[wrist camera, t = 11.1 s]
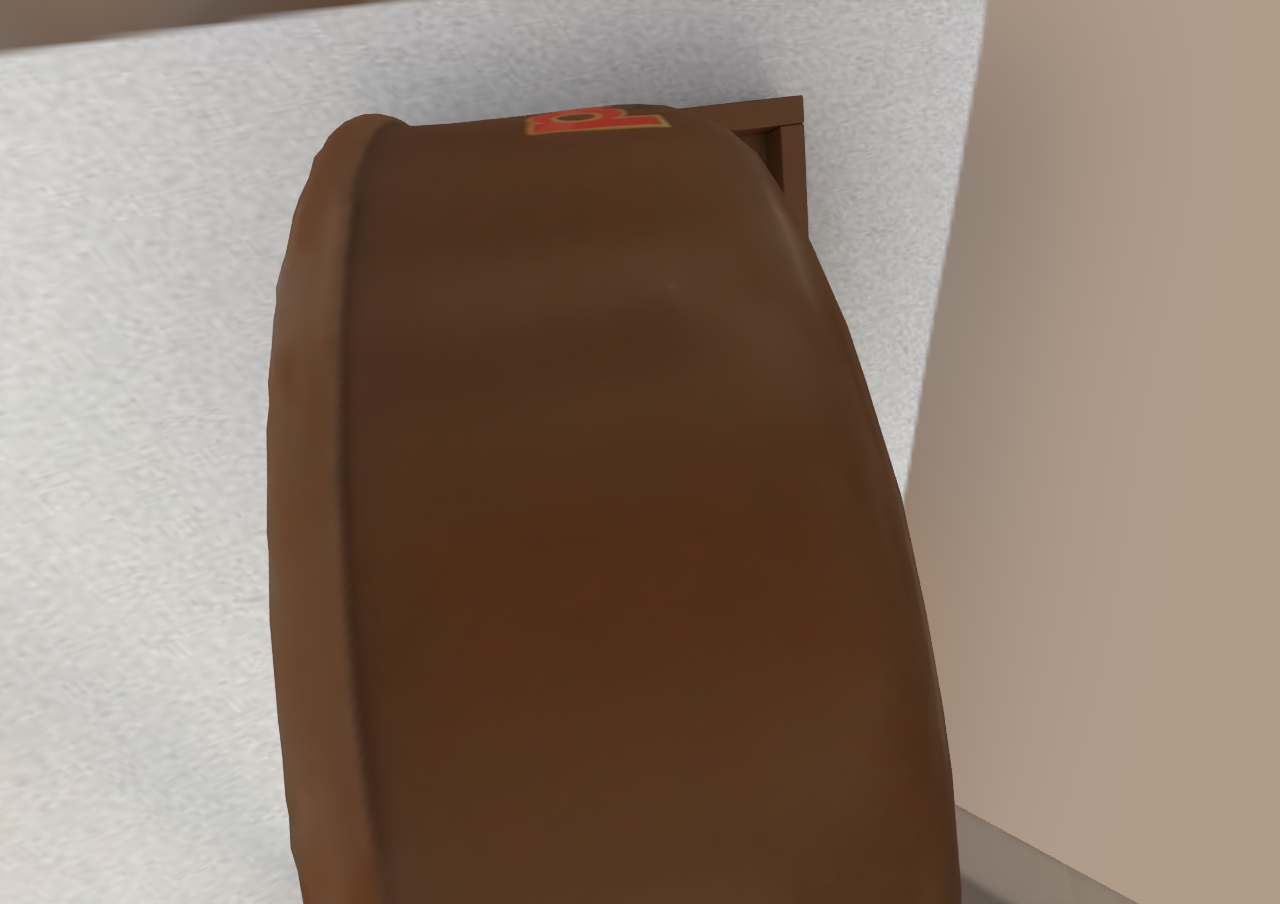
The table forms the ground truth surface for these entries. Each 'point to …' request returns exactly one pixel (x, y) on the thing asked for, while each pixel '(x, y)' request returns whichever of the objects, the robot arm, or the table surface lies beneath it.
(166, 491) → the table surface
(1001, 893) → the robot arm
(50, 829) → the table surface
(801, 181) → the tray
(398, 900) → the tin
